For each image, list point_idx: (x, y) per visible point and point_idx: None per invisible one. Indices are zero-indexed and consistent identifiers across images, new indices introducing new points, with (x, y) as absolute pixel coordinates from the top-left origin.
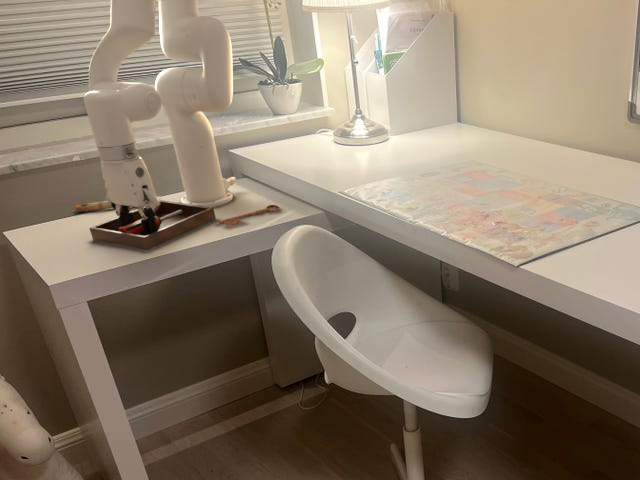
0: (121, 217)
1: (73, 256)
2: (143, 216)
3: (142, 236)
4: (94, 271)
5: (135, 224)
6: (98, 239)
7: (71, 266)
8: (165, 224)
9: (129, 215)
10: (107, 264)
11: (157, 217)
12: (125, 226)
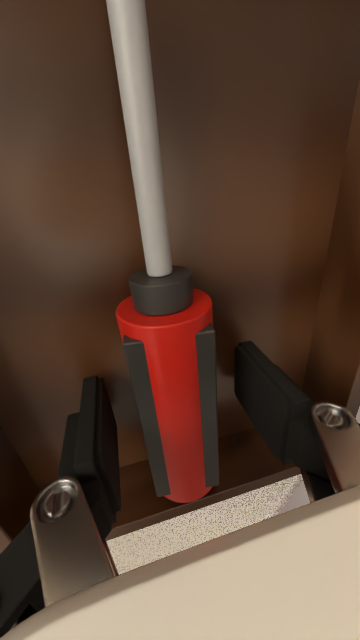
0: (114, 512)
1: (119, 543)
2: (312, 473)
3: None
4: (260, 520)
5: (209, 448)
6: None
7: (184, 548)
8: (136, 206)
9: (108, 470)
10: (257, 498)
11: (182, 292)
12: (192, 486)
